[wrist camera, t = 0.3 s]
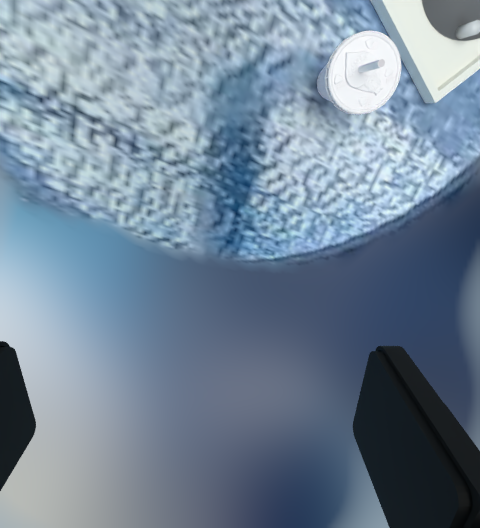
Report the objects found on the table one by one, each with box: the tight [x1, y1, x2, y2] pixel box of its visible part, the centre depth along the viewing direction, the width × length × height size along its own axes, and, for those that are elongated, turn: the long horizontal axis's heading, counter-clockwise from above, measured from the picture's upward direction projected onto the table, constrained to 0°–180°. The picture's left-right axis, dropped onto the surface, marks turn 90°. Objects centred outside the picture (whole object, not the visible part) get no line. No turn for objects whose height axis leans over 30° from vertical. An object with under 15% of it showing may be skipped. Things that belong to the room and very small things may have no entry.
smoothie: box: [317, 31, 401, 115], centre depth 32 cm, size 6×6×14 cm
